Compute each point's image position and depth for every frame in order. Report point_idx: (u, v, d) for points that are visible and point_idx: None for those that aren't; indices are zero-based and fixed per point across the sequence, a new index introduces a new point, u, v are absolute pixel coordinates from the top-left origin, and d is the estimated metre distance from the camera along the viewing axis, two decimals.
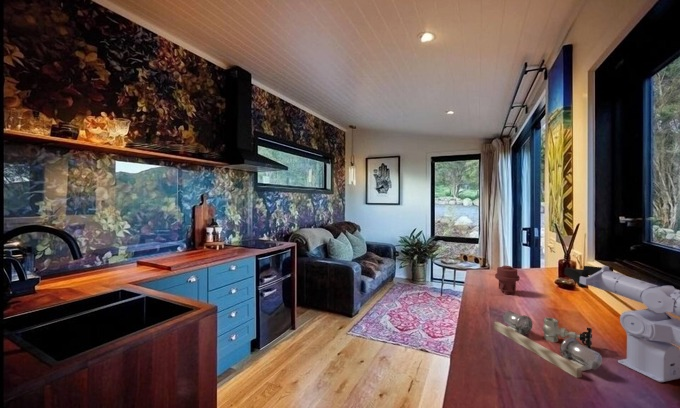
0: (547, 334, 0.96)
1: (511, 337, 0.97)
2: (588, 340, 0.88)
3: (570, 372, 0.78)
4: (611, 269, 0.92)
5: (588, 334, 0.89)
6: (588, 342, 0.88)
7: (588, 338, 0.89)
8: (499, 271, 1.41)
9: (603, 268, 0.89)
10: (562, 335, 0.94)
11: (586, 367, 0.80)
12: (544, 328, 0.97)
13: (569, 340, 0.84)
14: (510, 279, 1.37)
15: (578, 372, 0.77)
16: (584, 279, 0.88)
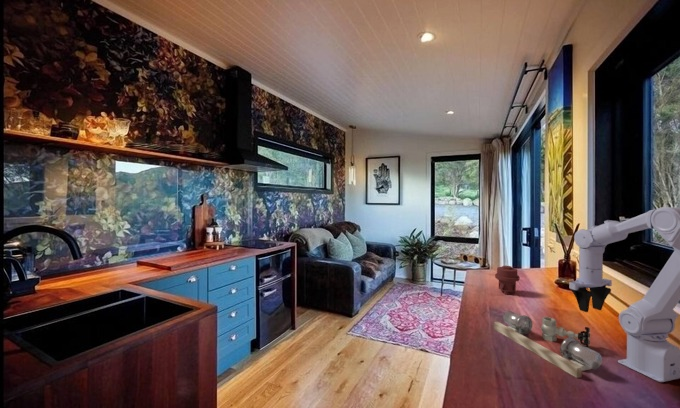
0: (545, 333, 0.96)
1: (511, 337, 0.97)
2: (586, 339, 0.89)
3: (570, 372, 0.78)
4: None
5: (586, 333, 0.89)
6: (586, 341, 0.88)
7: (586, 337, 0.89)
8: (499, 271, 1.41)
9: (577, 279, 0.99)
10: (560, 334, 0.94)
11: (586, 367, 0.80)
12: (542, 328, 0.97)
13: (569, 340, 0.84)
14: (510, 279, 1.37)
15: (578, 372, 0.77)
16: (570, 284, 0.95)
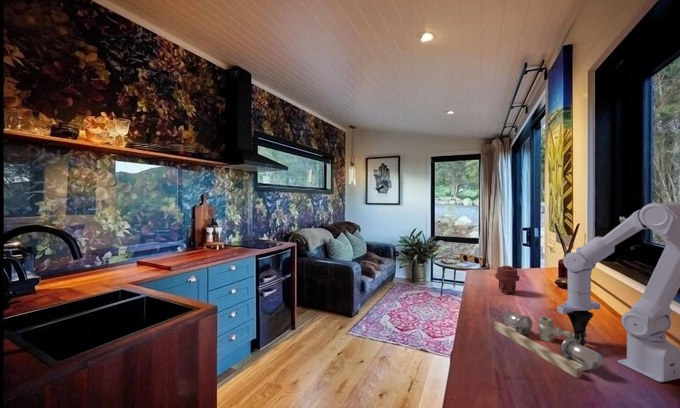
0: (542, 333, 0.97)
1: (511, 337, 0.97)
2: (582, 339, 0.89)
3: (570, 372, 0.78)
4: None
5: (582, 333, 0.89)
6: (582, 341, 0.88)
7: (582, 337, 0.89)
8: (499, 271, 1.41)
9: (565, 301, 0.98)
10: (557, 334, 0.94)
11: (586, 367, 0.80)
12: (539, 327, 0.97)
13: (569, 340, 0.84)
14: (510, 279, 1.37)
15: (578, 372, 0.77)
16: (558, 308, 0.94)
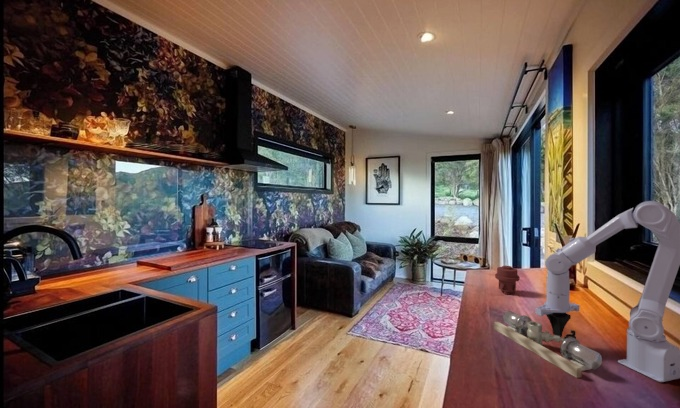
0: (532, 339, 0.93)
1: (511, 337, 0.97)
2: None
3: (570, 372, 0.78)
4: None
5: None
6: None
7: None
8: (499, 271, 1.41)
9: (545, 303, 0.97)
10: (547, 339, 0.91)
11: (586, 367, 0.80)
12: (528, 333, 0.93)
13: (569, 340, 0.84)
14: (510, 279, 1.37)
15: (578, 372, 0.77)
16: (536, 309, 0.92)
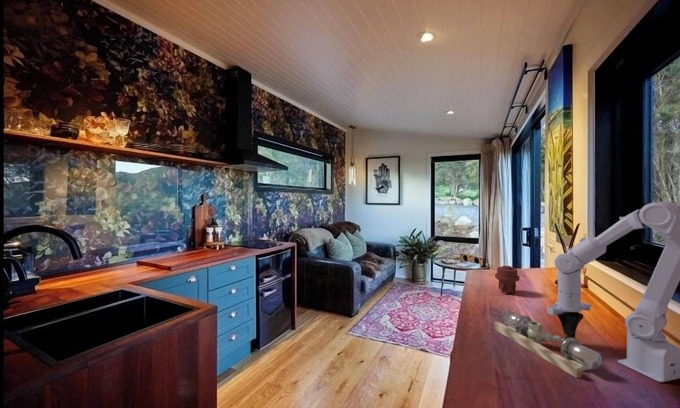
0: (532, 339, 0.93)
1: (511, 337, 0.97)
2: None
3: (570, 372, 0.78)
4: None
5: None
6: None
7: None
8: (499, 271, 1.41)
9: (556, 302, 0.97)
10: (547, 339, 0.91)
11: (586, 367, 0.80)
12: (528, 333, 0.94)
13: (569, 340, 0.84)
14: (510, 279, 1.37)
15: (578, 372, 0.77)
16: (548, 309, 0.93)
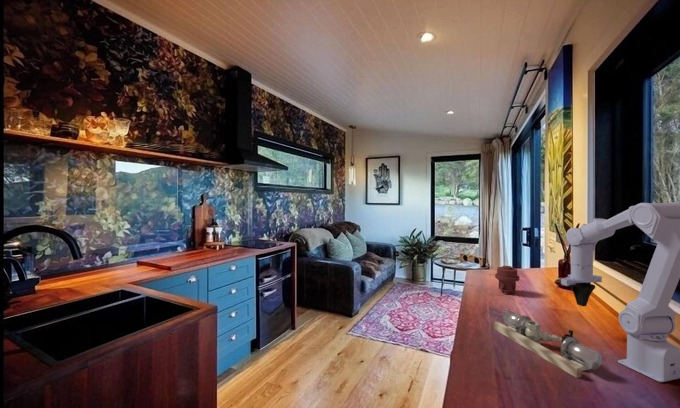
0: (530, 338, 0.94)
1: (511, 337, 0.97)
2: None
3: (570, 372, 0.78)
4: None
5: None
6: None
7: None
8: (499, 271, 1.41)
9: (569, 275, 1.03)
10: (545, 338, 0.92)
11: (586, 367, 0.80)
12: (526, 332, 0.94)
13: (569, 340, 0.84)
14: (510, 279, 1.37)
15: (578, 372, 0.77)
16: (562, 280, 0.99)
